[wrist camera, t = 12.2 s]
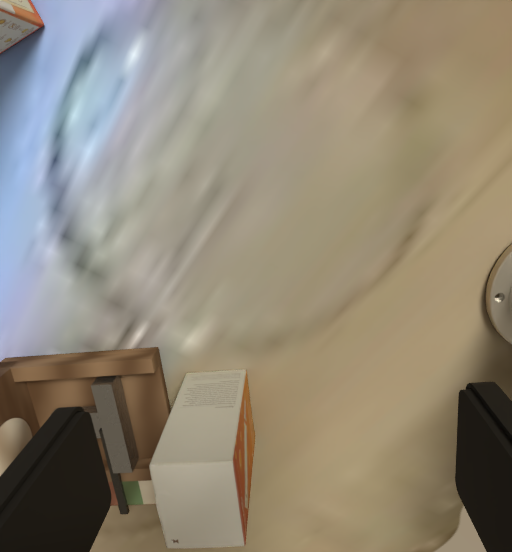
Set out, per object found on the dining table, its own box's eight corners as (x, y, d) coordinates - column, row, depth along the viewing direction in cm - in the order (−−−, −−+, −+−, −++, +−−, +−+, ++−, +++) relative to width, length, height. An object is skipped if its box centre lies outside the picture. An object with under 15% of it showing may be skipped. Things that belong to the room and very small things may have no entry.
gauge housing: (158, 347, 42) (127, 399, 34) (186, 492, 48) (166, 568, 39) (5, 358, 44) (-61, 410, 35) (50, 497, 49) (2, 572, 41)
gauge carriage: (119, 372, 42) (111, 384, 40) (148, 498, 47) (142, 514, 45) (46, 377, 43) (35, 389, 41) (82, 500, 47) (73, 516, 45)
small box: (256, 435, 45) (246, 549, 32) (196, 438, 45) (164, 551, 33) (248, 366, 42) (233, 461, 30) (185, 370, 43) (145, 465, 30)
